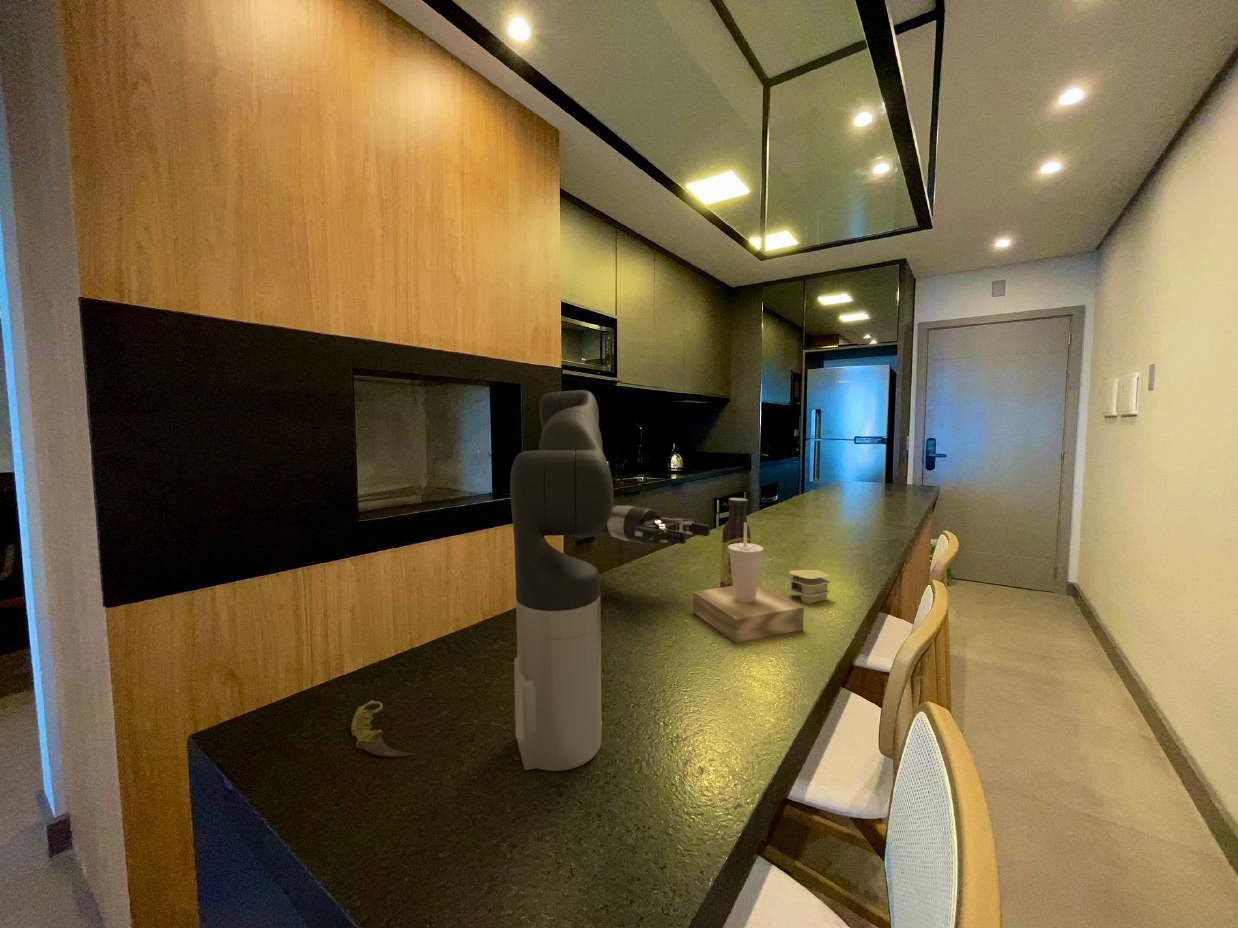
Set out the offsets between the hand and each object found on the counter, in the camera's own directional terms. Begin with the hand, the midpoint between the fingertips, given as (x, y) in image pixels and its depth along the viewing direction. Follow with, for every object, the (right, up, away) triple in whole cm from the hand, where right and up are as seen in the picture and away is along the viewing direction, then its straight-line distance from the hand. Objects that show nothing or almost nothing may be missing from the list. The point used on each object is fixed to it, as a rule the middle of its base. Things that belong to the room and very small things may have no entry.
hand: (697, 534), depth 94 cm
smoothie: (+8, -11, -6) cm, 15 cm away
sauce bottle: (+10, -14, +12) cm, 21 cm away
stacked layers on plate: (+24, -15, +6) cm, 29 cm away
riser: (+8, -15, -5) cm, 18 cm away
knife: (-44, -18, -37) cm, 60 cm away
